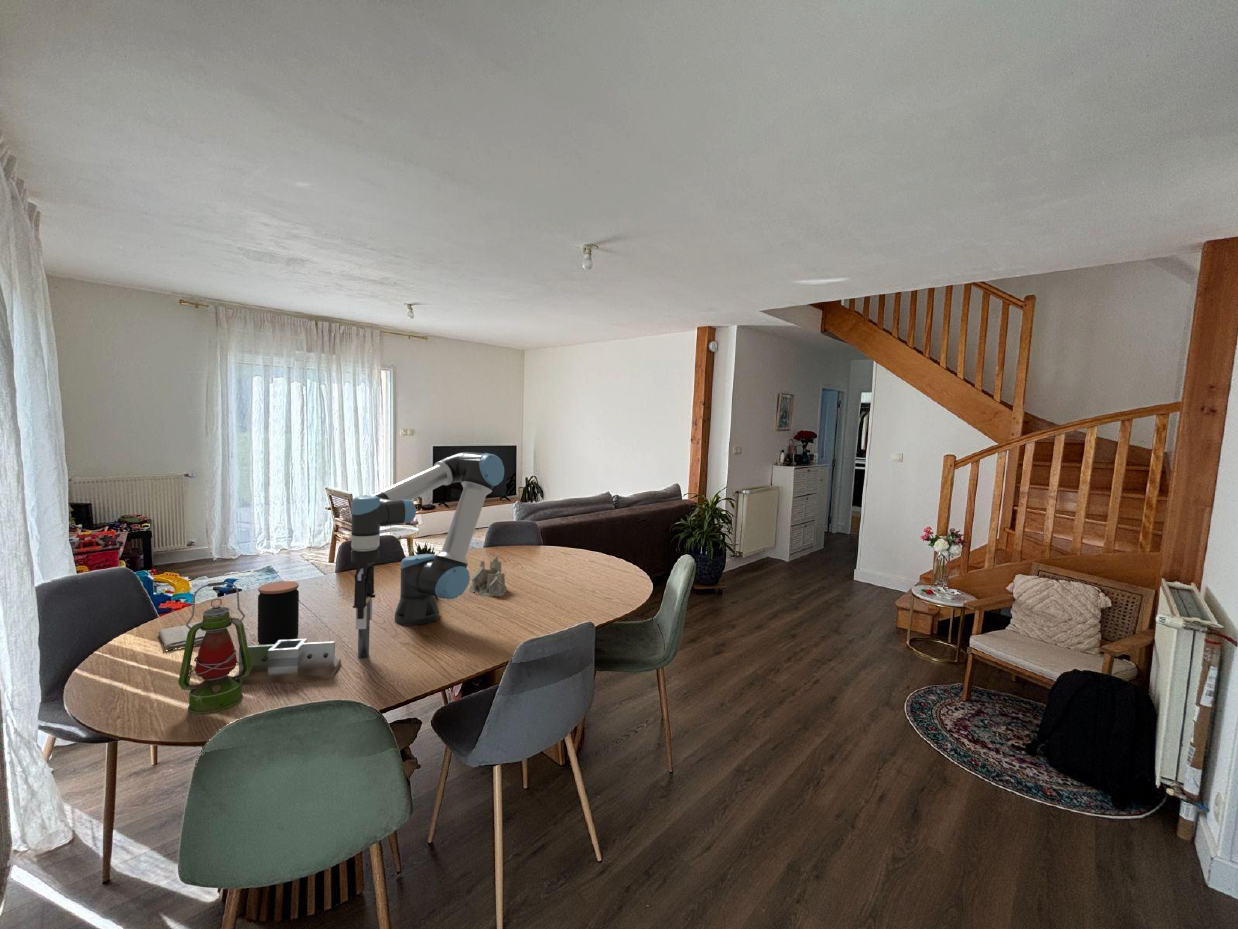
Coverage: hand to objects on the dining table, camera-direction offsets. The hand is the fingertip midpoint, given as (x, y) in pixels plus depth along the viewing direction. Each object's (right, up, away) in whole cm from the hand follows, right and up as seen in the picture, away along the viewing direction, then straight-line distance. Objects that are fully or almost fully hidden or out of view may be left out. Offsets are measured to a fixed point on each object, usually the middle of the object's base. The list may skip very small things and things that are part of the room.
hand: (364, 624), depth 150 cm
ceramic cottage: (+19, -8, +68) cm, 71 cm away
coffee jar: (-31, -8, +8) cm, 33 cm away
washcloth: (-60, -8, +8) cm, 61 cm away
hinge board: (-15, -10, -12) cm, 22 cm away
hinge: (-15, -8, -13) cm, 21 cm away
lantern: (-22, -11, -28) cm, 37 cm away
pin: (0, -10, +1) cm, 10 cm away
